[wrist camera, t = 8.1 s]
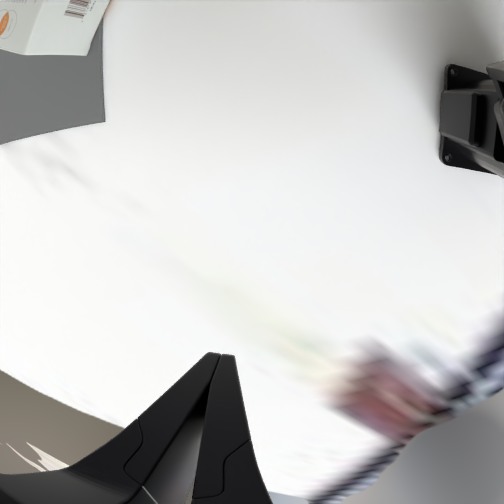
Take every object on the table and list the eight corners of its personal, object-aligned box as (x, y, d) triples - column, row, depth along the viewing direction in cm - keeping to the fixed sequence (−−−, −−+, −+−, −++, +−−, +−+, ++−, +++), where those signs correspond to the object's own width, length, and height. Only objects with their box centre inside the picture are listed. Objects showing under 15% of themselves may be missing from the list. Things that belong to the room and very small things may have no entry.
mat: (108, -51, 12) (105, -53, 12) (105, 121, 19) (102, 122, 19) (-5, 6, 14) (-7, 6, 14) (-3, 145, 21) (-5, 146, 20)
